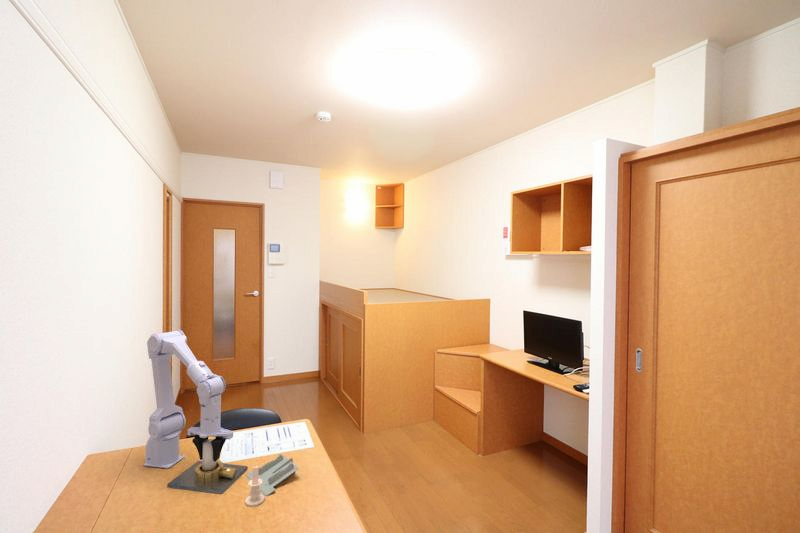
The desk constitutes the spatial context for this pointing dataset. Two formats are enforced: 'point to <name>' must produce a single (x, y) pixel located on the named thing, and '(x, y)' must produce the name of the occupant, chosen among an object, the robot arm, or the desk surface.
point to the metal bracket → (274, 473)
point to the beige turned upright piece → (255, 490)
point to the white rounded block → (208, 456)
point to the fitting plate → (205, 486)
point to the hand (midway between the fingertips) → (209, 459)
